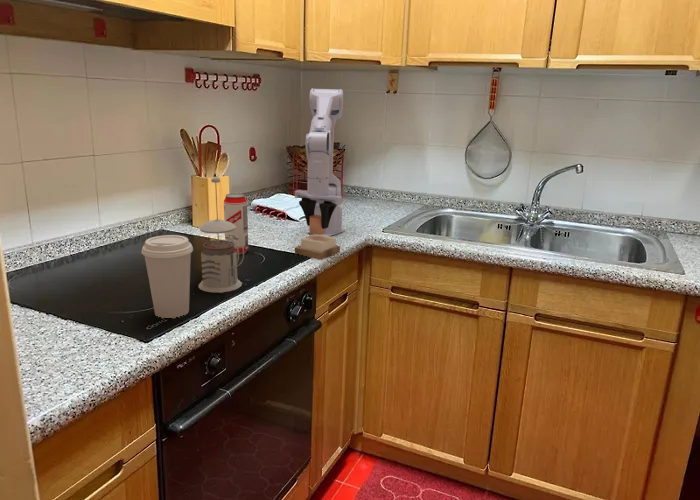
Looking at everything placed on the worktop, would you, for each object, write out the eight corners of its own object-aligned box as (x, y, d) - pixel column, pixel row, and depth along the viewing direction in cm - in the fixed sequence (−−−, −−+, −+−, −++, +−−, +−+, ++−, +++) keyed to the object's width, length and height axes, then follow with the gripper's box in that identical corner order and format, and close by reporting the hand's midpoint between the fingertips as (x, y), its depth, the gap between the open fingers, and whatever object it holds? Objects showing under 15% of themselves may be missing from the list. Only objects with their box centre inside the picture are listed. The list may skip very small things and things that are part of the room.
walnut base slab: (314, 248, 156) (314, 240, 155) (339, 254, 151) (339, 246, 150) (294, 256, 148) (294, 247, 148) (321, 262, 144) (321, 253, 143)
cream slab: (315, 242, 154) (315, 233, 153) (335, 246, 150) (336, 237, 149) (301, 247, 148) (300, 239, 147) (322, 252, 144) (322, 243, 144)
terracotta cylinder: (315, 229, 151) (315, 214, 149) (328, 232, 148) (328, 216, 147) (306, 232, 147) (306, 216, 146) (319, 235, 145) (319, 219, 144)
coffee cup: (136, 316, 105) (129, 242, 101) (170, 300, 114) (165, 231, 109) (174, 325, 102) (169, 250, 97) (206, 308, 110) (203, 237, 106)
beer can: (243, 256, 145) (241, 198, 140) (221, 254, 146) (219, 196, 141) (252, 250, 150) (250, 193, 146) (231, 248, 152) (229, 192, 147)
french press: (219, 275, 130) (215, 172, 123) (256, 284, 124) (254, 177, 117) (188, 286, 122) (182, 177, 115) (227, 297, 116) (222, 182, 109)
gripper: (287, 176, 144) (287, 225, 148) (332, 182, 136) (331, 233, 140) (303, 173, 150) (303, 220, 153) (347, 179, 142) (345, 228, 146)
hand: (317, 226), depth 147 cm, fingers closed on terracotta cylinder, 4 cm apart
